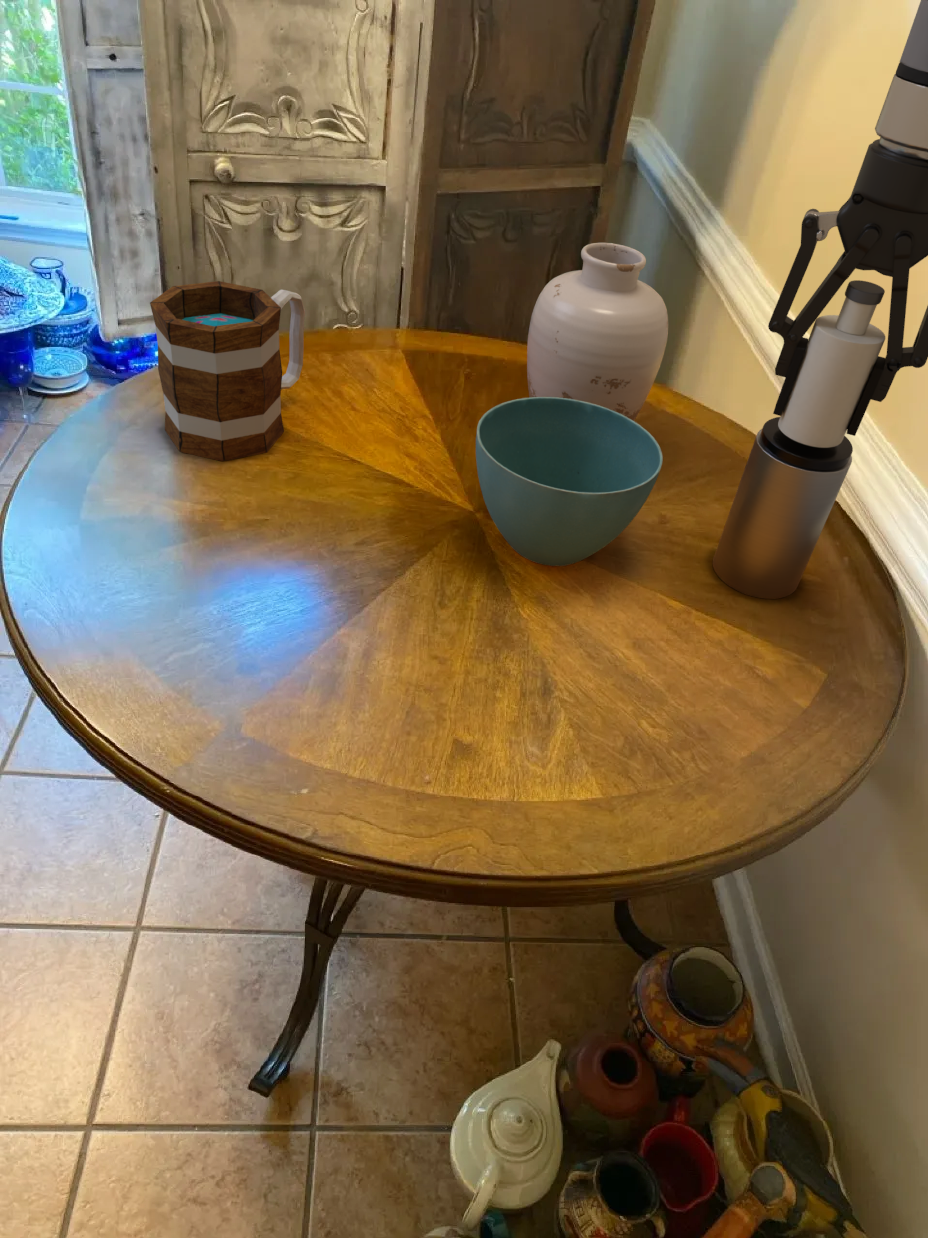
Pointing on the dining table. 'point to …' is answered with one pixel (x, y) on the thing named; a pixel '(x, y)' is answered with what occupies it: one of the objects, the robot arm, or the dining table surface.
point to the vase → (598, 332)
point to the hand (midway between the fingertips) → (815, 418)
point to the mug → (225, 366)
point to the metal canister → (779, 512)
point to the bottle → (834, 370)
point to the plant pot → (563, 475)
